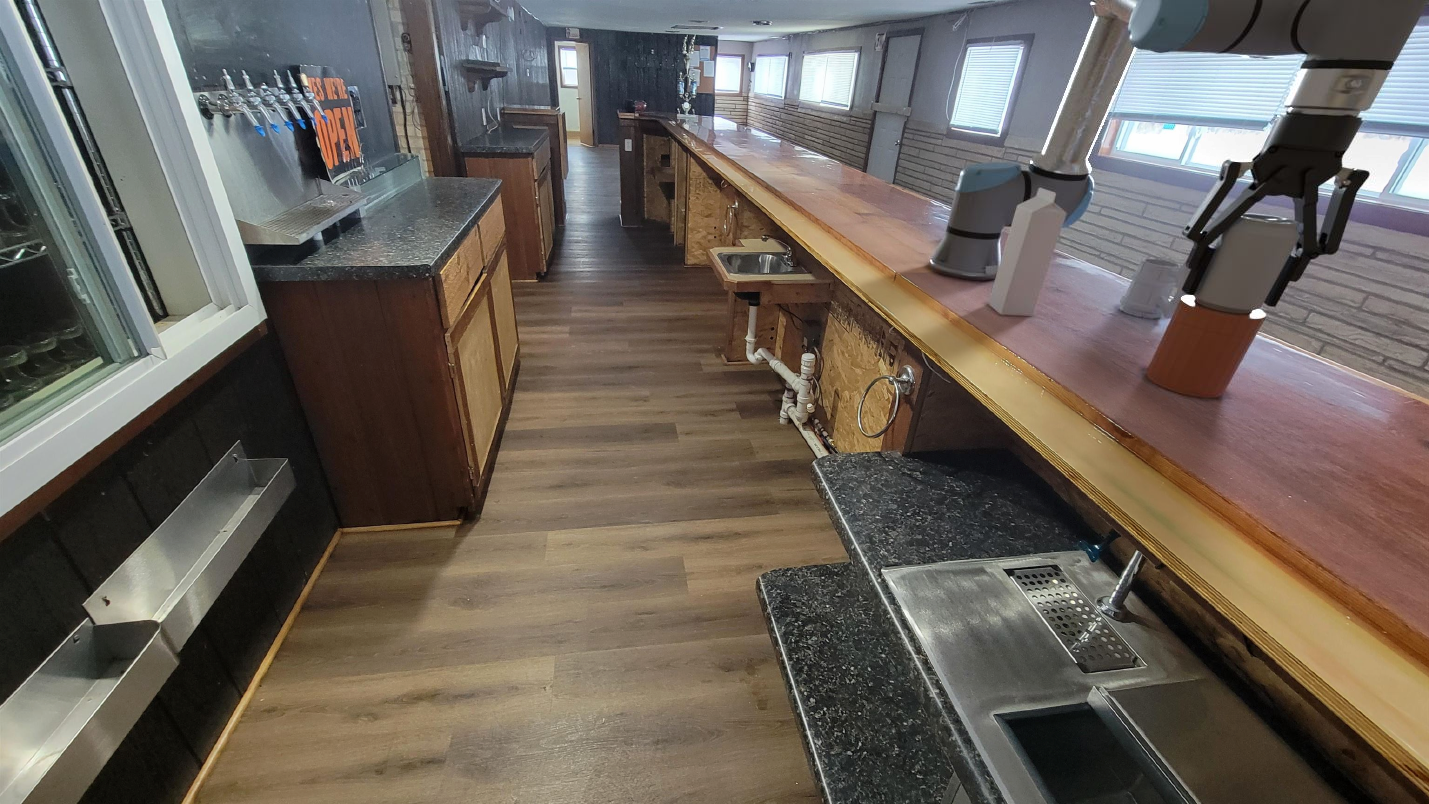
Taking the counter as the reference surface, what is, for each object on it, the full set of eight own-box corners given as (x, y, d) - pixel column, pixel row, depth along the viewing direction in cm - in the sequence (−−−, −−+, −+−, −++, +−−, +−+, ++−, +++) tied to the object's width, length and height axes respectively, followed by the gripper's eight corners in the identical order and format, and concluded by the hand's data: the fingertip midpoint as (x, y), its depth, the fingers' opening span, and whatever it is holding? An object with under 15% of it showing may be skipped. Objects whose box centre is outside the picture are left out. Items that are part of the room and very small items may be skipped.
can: (1194, 293, 82) (1235, 208, 76) (1260, 307, 78) (1309, 218, 72) (1184, 304, 78) (1227, 215, 72) (1254, 320, 73) (1306, 226, 67)
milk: (1000, 315, 106) (1038, 192, 95) (987, 304, 111) (1021, 186, 100) (1032, 316, 106) (1073, 194, 95) (1017, 305, 111) (1055, 187, 100)
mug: (1143, 305, 114) (1169, 246, 108) (1190, 327, 104) (1221, 264, 98) (1108, 305, 114) (1132, 245, 108) (1151, 327, 104) (1181, 263, 98)
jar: (1139, 364, 89) (1173, 290, 83) (1210, 376, 86) (1250, 301, 80) (1154, 389, 81) (1192, 310, 75) (1232, 403, 78) (1279, 323, 72)
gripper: (1223, 108, 66) (1143, 293, 77) (1465, 119, 60) (1339, 320, 71) (1203, 107, 72) (1131, 278, 84) (1420, 117, 66) (1310, 302, 77)
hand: (1226, 297), depth 77 cm, fingers open, 8 cm apart
